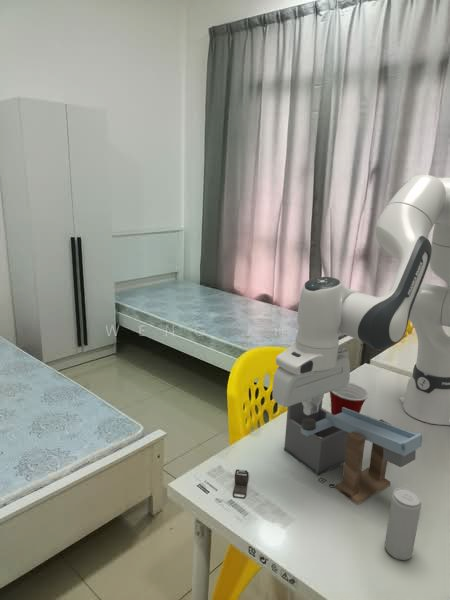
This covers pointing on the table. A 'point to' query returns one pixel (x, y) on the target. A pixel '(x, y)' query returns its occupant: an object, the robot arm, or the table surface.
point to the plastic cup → (348, 398)
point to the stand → (367, 480)
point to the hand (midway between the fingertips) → (310, 412)
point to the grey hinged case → (241, 483)
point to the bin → (314, 441)
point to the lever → (371, 434)
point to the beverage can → (402, 523)
